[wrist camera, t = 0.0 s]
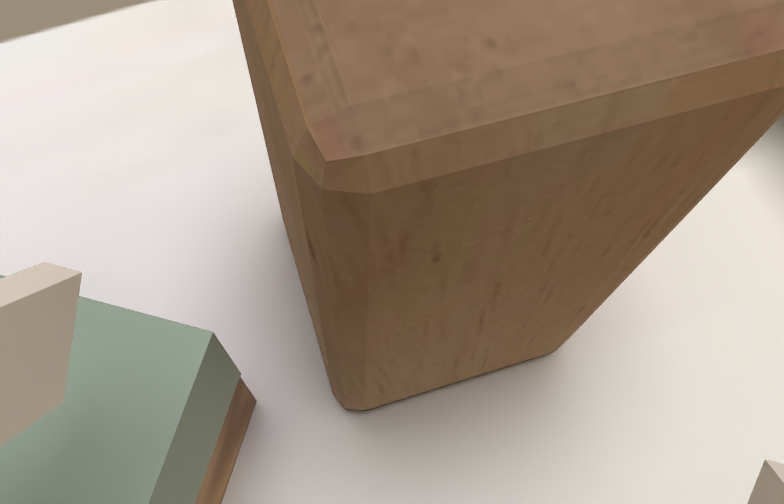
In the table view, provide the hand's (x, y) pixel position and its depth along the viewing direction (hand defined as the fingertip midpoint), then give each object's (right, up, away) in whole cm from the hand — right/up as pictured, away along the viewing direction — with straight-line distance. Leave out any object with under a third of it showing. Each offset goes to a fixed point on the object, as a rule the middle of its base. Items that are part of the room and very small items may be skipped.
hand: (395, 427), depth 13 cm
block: (+1, +2, +18) cm, 18 cm away
